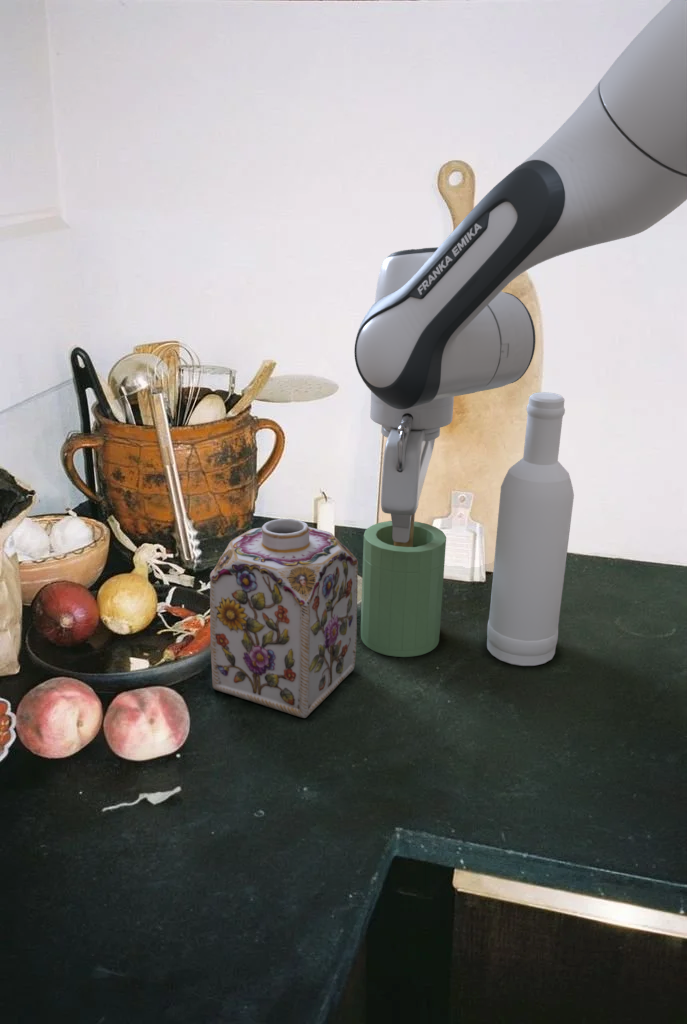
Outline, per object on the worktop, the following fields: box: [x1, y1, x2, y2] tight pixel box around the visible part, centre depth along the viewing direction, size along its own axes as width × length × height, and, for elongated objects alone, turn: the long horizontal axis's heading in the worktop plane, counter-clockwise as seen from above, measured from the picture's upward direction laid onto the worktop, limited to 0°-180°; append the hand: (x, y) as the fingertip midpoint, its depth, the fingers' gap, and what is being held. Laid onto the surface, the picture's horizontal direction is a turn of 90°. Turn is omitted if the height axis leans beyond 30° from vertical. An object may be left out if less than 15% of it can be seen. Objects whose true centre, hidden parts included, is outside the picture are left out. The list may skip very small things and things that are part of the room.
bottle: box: [486, 391, 575, 667], centre depth 103 cm, size 8×8×30 cm
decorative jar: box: [209, 518, 359, 719], centre depth 97 cm, size 12×12×18 cm
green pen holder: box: [360, 520, 447, 658], centre depth 108 cm, size 9×9×13 cm
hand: (405, 523), depth 105 cm, fingers open, 8 cm apart
